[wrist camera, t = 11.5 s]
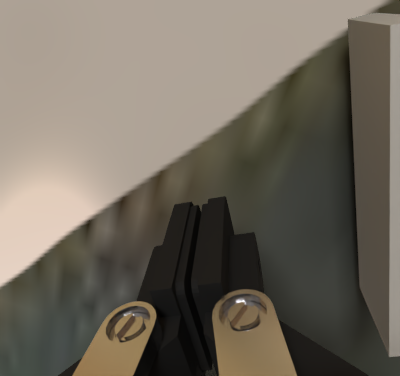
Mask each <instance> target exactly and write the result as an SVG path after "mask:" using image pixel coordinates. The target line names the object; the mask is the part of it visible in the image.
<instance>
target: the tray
mask: <svg viewBox="0 0 400 376" xmlns="http://www.w3.org/2000/svg"><path fill="white" fill-rule="evenodd" d="M348 34H349V57H350V80H351V103H352V126H353V148H354V171H355V194H356V217H357V240H358V262H359V285H360V290H361V292H362V294H363V297H364V299H365V301H366V304H367V306H368V308H369V311H370V313H371V315H372V318H373V320H374V322H375V325H376V327H377V329H378V332H379V334H380V336H381V339H382V341H383V343H384V346H385V348H386V351H387V353H388V355H389V357H394V356H400V14H384V13H373V14H368V15H364V16H360V17H356V18H352V19H348Z"/></svg>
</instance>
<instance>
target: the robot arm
mask: <svg viewBox="0 0 400 376" xmlns="http://www.w3.org/2000/svg"><path fill="white" fill-rule="evenodd" d="M212 361H213V364H214V367H215V370H216V374H217V376H368V375H367V374H365V373H364V372H362V371H361V370H359V369H357V368H356V367H354V366H352V365H351V364H349V363H348V362H346V361H344V360H343V359H341V358H340V357H338V356H336V355H335V354H333V353H331V352H330V351H328V350H327V349H325V348H323V347H322V346H320V345H318V344H317V343H315V342H314V341H312V340H310V339H309V338H307V337H305V336H304V335H302V334H301V333H299V332H297V331H296V330H294V329H292V328H291V327H289V326H288V325H286V324H284V323H283V322H281V321H279V320H278V318H277V315H276V312H275V309H274V306H273V304H272V302H271V300H270V299H269V298H268V297H267V296H266V295H265V294H264V288H263V278H262V271H261V264H260V258H259V252H258V247H257V242H256V237H255V233H254V232H253V233H246V234H239V235H234V230H233V226H232V221H231V217H230V213H229V208H228V204H227V200H226V197H218V198H212V199H208V204H203V205H202V212H201V211H200V208H199V206H198V205H196V206H193V203H192V202H188V203H181V204H175V205H174V208H173V211H172V215H171V218H170V221H169V225H168V228H167V232H166V235H165V239H164V242H163V245H161V246H156V247H154V249H153V252H152V255H151V258H150V261H149V264H148V267H147V271H146V274H145V277H144V280H143V283H142V286H141V289H140V292H139V295H138V298H137V301H136V302H130V303H127V304H124V305H122V306H120V307H118V308H117V309H115V310H114V311H113V312H111V313H110V314H109V315H108V316H107V318H106V319H105V320H104V322H103V323H102V325H101V326H100V328H99V330H98V332H97V333H96V335H95V337H94V339H93V340H92V342H91V344H90V346H89V347H88V349H87V351H86V353H85V354H84V356H83V358H81V359H80V360H79V361H77V362H76V363H74V364H73V365H72V366H70V367H69V368H68V369H66V370H65V371H64V372H62V373H61V374H60V375H58V376H205V372H206V370H211V369H212Z"/></svg>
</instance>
